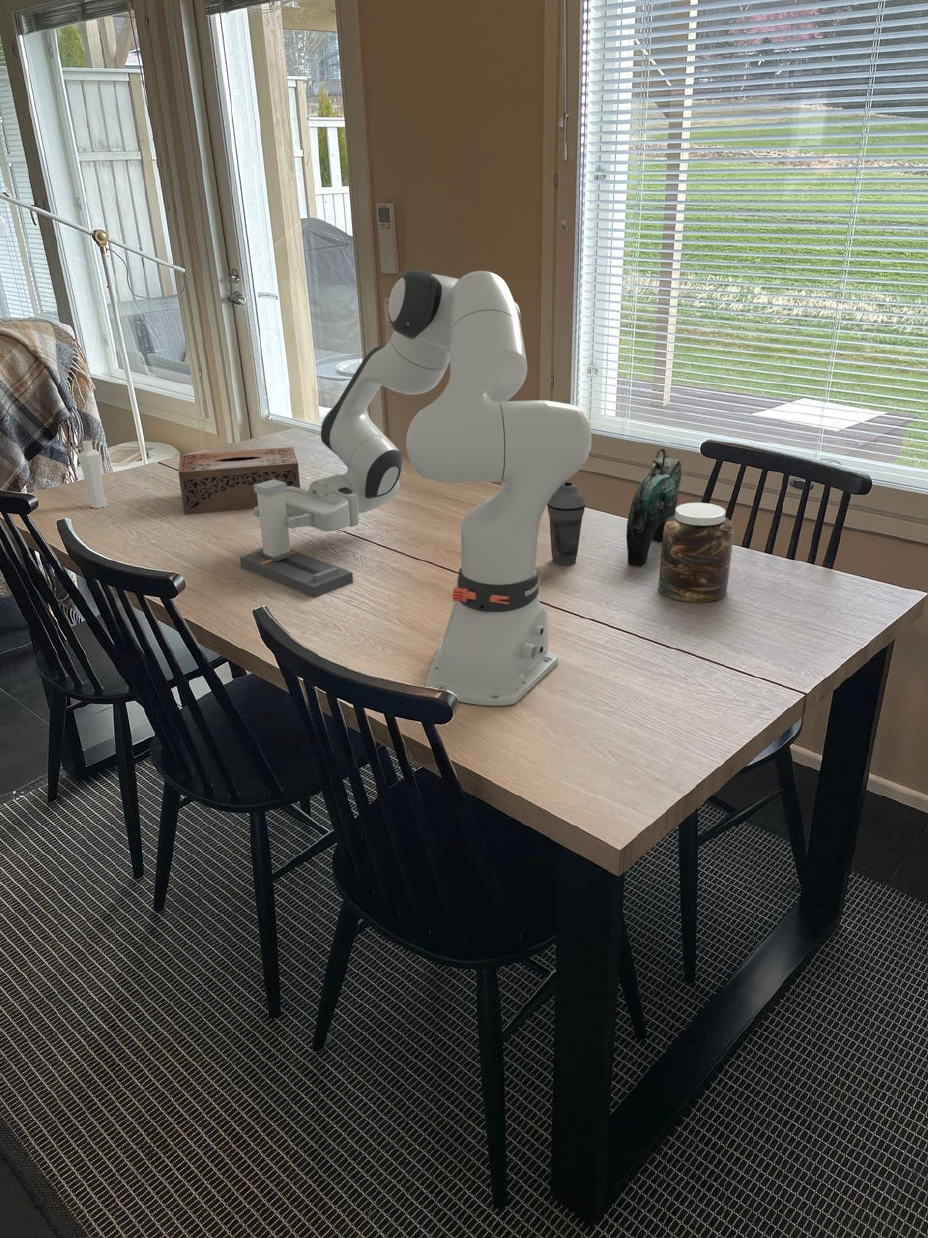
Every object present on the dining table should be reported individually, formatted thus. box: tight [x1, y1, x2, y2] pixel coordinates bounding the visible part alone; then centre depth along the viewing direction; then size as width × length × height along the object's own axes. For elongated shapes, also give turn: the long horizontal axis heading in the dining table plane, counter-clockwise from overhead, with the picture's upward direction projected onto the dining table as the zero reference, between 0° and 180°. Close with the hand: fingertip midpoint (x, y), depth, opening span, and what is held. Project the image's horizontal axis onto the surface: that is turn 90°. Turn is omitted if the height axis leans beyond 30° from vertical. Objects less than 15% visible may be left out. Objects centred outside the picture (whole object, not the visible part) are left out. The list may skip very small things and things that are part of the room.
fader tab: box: [254, 479, 291, 561], centre depth 173 cm, size 4×5×14 cm
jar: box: [658, 502, 734, 604], centre depth 162 cm, size 12×12×15 cm
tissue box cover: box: [177, 446, 301, 516], centre depth 213 cm, size 26×14×10 cm, turn 104°
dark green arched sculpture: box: [626, 448, 682, 568], centre depth 179 cm, size 20×6×20 cm, turn 150°
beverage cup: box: [546, 481, 586, 567], centre depth 174 cm, size 7×7×20 cm
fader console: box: [239, 547, 354, 598], centre depth 173 cm, size 22×9×3 cm, turn 48°
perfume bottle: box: [77, 440, 108, 509], centre depth 209 cm, size 5×4×15 cm
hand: (271, 518), depth 173 cm, fingers open, 8 cm apart
